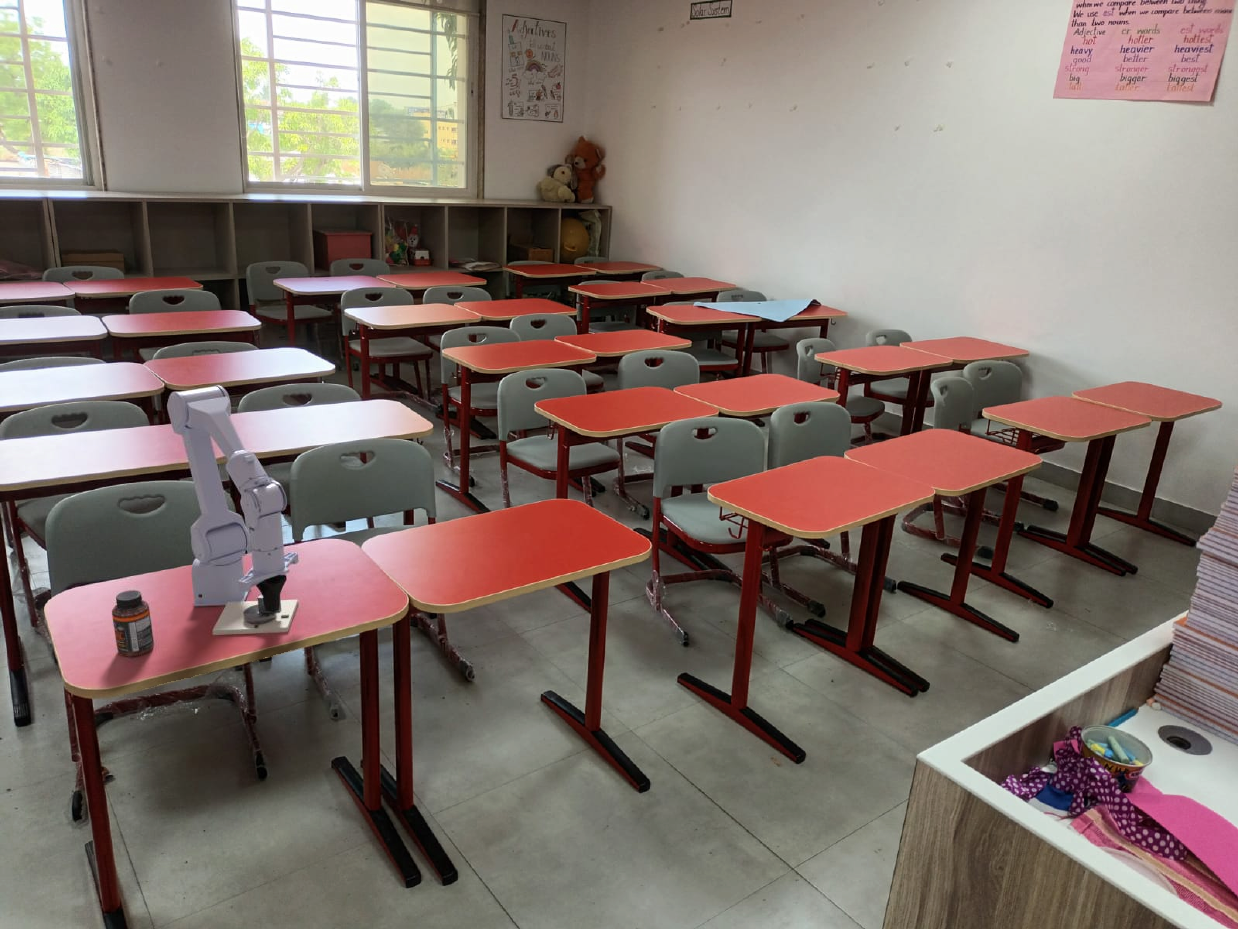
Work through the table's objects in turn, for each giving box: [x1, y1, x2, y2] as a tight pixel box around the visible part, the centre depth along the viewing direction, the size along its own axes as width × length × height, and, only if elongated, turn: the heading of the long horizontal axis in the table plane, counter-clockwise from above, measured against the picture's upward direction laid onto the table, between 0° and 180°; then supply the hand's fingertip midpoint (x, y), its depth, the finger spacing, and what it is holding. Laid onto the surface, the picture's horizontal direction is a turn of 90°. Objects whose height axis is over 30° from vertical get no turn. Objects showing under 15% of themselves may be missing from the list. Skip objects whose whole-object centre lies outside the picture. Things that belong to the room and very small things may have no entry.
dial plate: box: [212, 599, 299, 636], centre depth 172 cm, size 14×12×1 cm
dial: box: [243, 594, 282, 624], centre depth 170 cm, size 7×6×5 cm
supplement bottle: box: [111, 589, 155, 658], centre depth 157 cm, size 6×6×11 cm
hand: (272, 609), depth 168 cm, fingers closed, pressing on dial
